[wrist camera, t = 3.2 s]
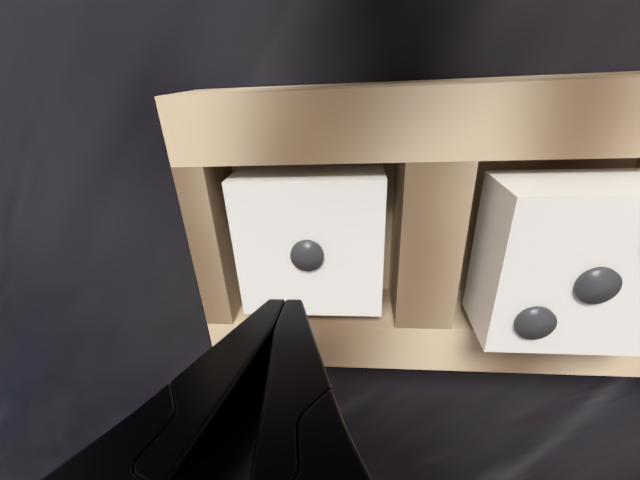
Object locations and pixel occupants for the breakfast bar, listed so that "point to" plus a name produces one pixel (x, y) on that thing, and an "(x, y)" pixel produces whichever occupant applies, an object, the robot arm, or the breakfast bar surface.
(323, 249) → the key one dot
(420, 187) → the beige wooden frame
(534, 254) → the key three dots
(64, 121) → the breakfast bar surface
